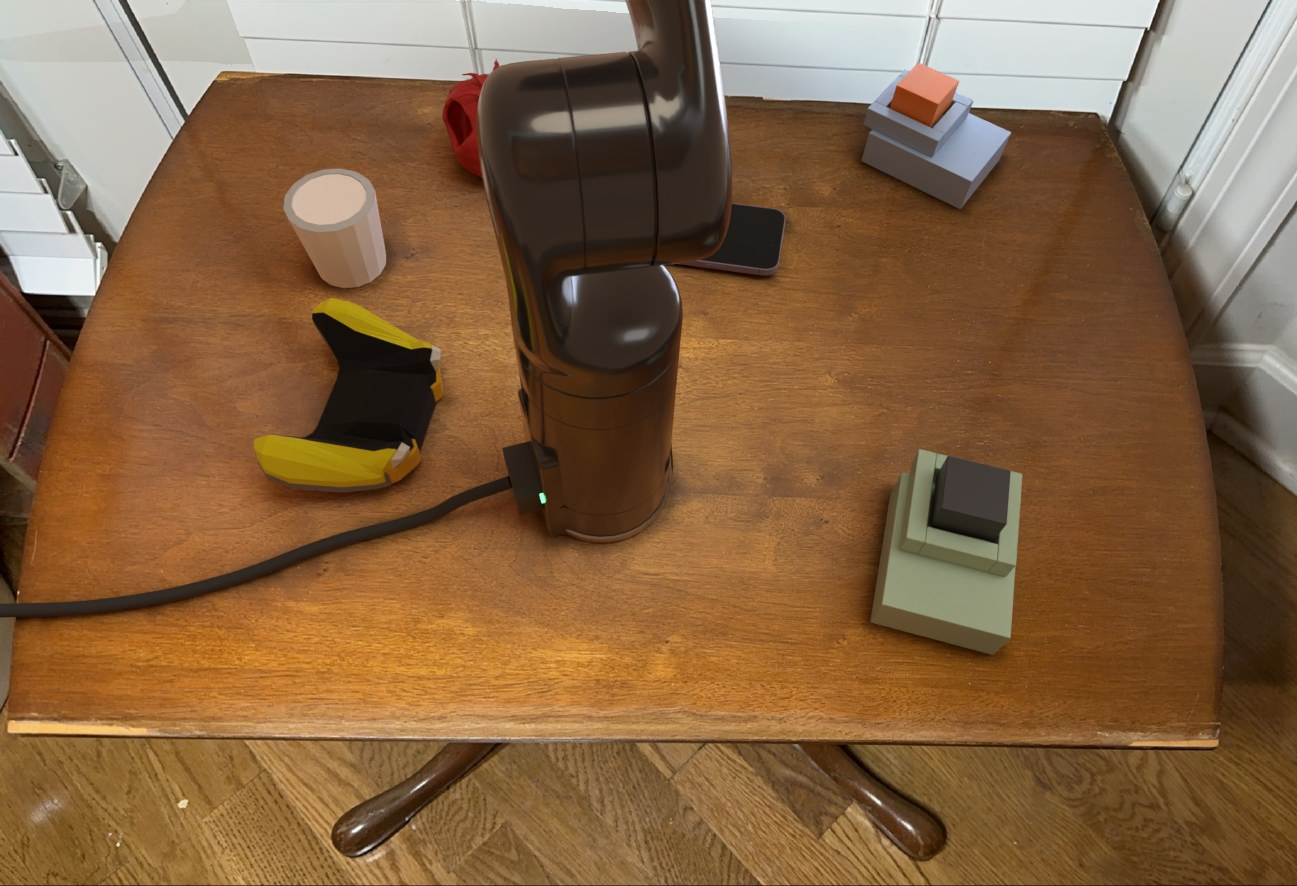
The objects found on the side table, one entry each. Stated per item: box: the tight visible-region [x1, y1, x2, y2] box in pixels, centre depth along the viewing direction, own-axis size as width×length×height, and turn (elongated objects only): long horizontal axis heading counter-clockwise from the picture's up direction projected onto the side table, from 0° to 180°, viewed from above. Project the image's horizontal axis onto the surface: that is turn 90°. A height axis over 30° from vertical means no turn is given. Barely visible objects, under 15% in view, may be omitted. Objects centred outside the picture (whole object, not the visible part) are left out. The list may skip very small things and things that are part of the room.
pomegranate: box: [441, 58, 500, 178], centre depth 79 cm, size 10×10×9 cm
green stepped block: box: [869, 448, 1023, 656], centre depth 60 cm, size 11×8×5 cm
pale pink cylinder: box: [282, 167, 387, 289], centre depth 72 cm, size 7×7×7 cm
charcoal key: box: [930, 455, 1012, 542], centre depth 58 cm, size 4×4×2 cm
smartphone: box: [675, 202, 786, 277], centre depth 78 cm, size 7×1×15 cm
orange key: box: [890, 62, 960, 127], centre depth 80 cm, size 4×4×3 cm
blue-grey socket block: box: [861, 69, 1012, 210], centre depth 82 cm, size 11×8×5 cm
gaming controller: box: [253, 297, 444, 493], centre depth 65 cm, size 15×6×10 cm
